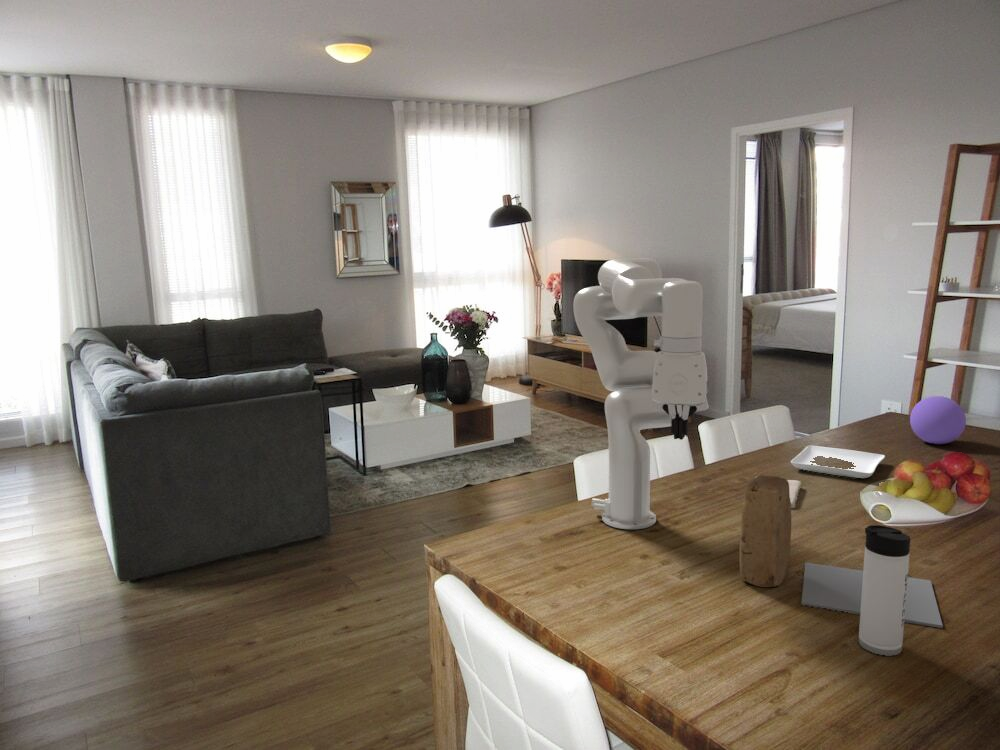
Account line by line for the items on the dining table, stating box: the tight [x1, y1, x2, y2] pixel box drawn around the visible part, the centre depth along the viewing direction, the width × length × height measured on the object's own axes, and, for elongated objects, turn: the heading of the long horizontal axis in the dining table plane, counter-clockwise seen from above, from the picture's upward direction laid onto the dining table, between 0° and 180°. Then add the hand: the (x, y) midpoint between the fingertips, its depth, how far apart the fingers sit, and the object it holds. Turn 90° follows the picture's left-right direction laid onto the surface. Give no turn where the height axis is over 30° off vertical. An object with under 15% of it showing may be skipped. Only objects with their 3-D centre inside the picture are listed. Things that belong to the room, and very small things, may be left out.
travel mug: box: [858, 524, 912, 657], centre depth 118 cm, size 6×7×20 cm
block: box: [739, 474, 792, 588], centre depth 143 cm, size 11×8×20 cm
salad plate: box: [790, 444, 886, 479], centre depth 211 cm, size 21×21×3 cm
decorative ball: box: [909, 395, 967, 445], centre depth 231 cm, size 15×15×15 cm
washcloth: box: [754, 475, 802, 509], centre depth 190 cm, size 12×18×3 cm, turn 154°
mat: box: [801, 562, 944, 629], centre depth 137 cm, size 22×18×1 cm
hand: (679, 437), depth 146 cm, fingers closed
